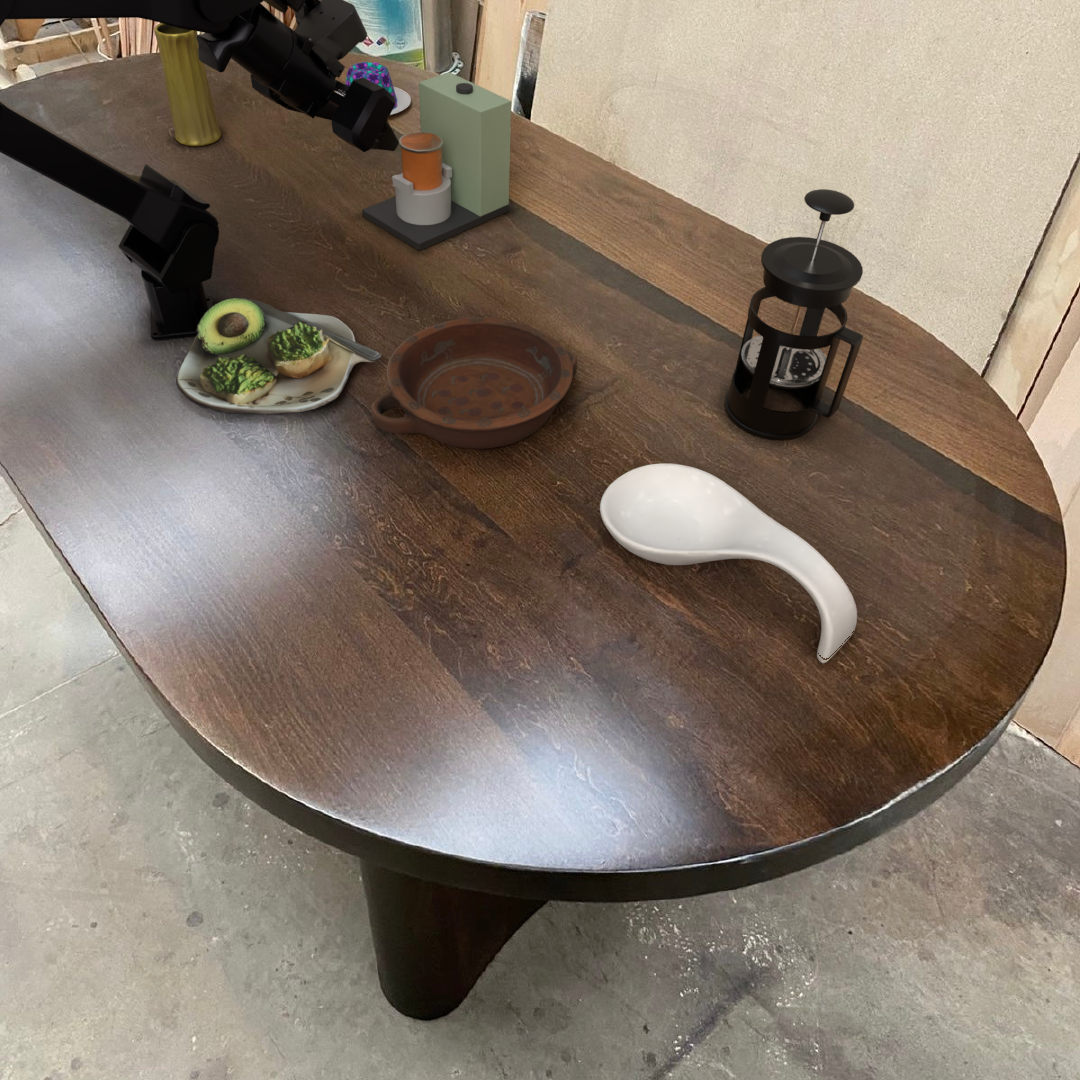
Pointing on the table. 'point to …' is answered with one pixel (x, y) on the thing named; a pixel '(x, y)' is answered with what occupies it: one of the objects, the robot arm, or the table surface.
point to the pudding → (379, 82)
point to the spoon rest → (720, 536)
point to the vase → (187, 86)
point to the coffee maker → (454, 165)
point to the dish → (475, 382)
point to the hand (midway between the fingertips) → (369, 132)
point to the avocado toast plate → (268, 359)
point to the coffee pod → (422, 159)
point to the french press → (794, 360)
